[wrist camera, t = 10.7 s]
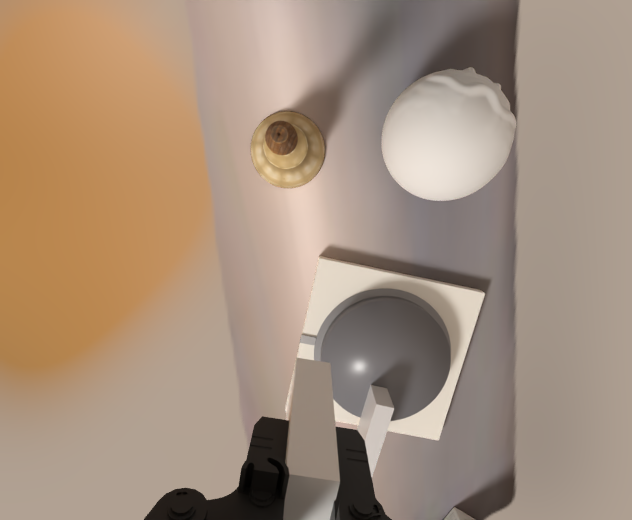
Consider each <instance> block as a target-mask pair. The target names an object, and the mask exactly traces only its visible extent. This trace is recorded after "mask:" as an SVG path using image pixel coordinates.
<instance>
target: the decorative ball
mask: <svg viewBox="0 0 632 520" xmlns="http://www.w3.org/2000/svg"><path fill="white" fill-rule="evenodd" d="M515 129H516V119H515V116H514V115H513V113H512V112H511V111H510V103H509V101H508V99H507V98H506V96H505V95H504V94H503V92H502V91H501V85H500V84H499V83H493V82H492V81H491V80H490V79H489V78H487V77H485V76H482V75H479V74H476V72H475V70H474V68H472V67H469V68H467V69H465V70H455V69H447V70H443V71H438V72H434V73H431V74H429V75H427V76H424V77H422V78H420V79H418V80H417V81H416V82H414V83H413V84H411V85H410V86H409V87H408V88H406V89H405V90H404V91H403V92H402V93H401V94H400V95H399V97H398V98H397V99H396V100H395V102H394V103H393V105H392V106H391V108H390V110H389V112H388V114H387V117H386V119H385V122H384V126H383V131H382V153H383V157H384V161H385V164H386V166H387V168H388V170H389V172H390V174H391V175H392V177H393V178H394V179H395V180H396V182H397V183H398V184H399V185H400V186H401V187H403V188H404V189H405V190H407V191H408V192H410V193H412V194H414V195H416V196H418V197H421V198H424V199H428V200H435V201H447V200H454V199H458V198H462V197H465V196H467V195H470V194H472V193H474V192H475V191H477V190H479V189H480V188H482V187H483V186H484V185H486V184H487V183H488V182H489V181H490V180H491V179H492V178H493V177H494V176H495V175H496V174H497V173H498V172H499V171H500V169H501V168H502V167H503V165H504V164H505V162H506V160H507V158H508V156H509V153H510V150H511V146H512V143H513V140H514V132H515Z"/></svg>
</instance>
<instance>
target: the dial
mask: <svg viewBox="0 0 632 520" xmlns="http://www.w3.org/2000/svg"><path fill="white" fill-rule="evenodd" d="M320 358H321V362H327V363H330V366H331V378H332V390H333V399H334V400H335V401H336V402H337V403H338V404H339V405H340V406H341V407H342V408H343V409H345V410H346V411H347V412H349V413H351V414H353V415H355V416H357V417H360V421H359V424H358V428H357V430H358V432H359V433H360V435H361V436H362V438H363V439H364V440H365V445H366V450H367V456H368V463H369V467H370V472H371V477H372V476H373V473H374V470H375V467H376V464H377V460H378V457H379V454H380V451H381V448H382V445H383V442H384V439H385V436H386V433H387V430H388V426H389V423H390V421H395V420H400V419H404V418H407V417H410V416H412V415H414V414H416V413H418V412H419V411H421V410H423V409H424V408H425V407H427V406H428V405H429V404H430V403H431V402H432V401H433V400H434V399H435V398H436V397H437V396H438V394H439V393H440V392H441V390H442V388H443V387H444V385H445V383H446V380H447V378H448V375H449V371H450V365H451V353H450V346H449V343H448V340H447V337H446V335H445V333H444V331H443V330H442V328H441V327H440V325H439V324H438V323H437V322H436V321H435V319H434V318H433V317H432V316H431V315H430V314H429V313H428V312H427V311H426V310H425V309H423V308H422V307H421V306H419V305H417V304H416V303H414V302H412V301H409V300H407V299H403V298H400V297H394V296H376V297H371V298H367V299H364V300H361V301H358V302H356V303H354V304H352V305H351V306H349V307H348V308H346V309H345V310H343V311H342V312H341V313H340V314H339V315H338V316H337V317H336V318H335V319H334V320H333V322H332V323H331V325H330V326H329V327H328V329H327V331H326V333H325V336H324V339H323V342H322V346H321V356H320Z"/></svg>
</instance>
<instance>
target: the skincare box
mask: <svg viewBox="0 0 632 520" xmlns="http://www.w3.org/2000/svg"><path fill="white" fill-rule="evenodd" d="M444 520H475V519H474V518H472V517H470V516H469V515H467V514H466V513H464V512H462V511H461V510H459V509H457V508H456V507H454V508H453V509H452V510H451V511H450V512H449V514H448V515H447V516H446V517H445V518H444Z"/></svg>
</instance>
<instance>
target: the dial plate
mask: <svg viewBox="0 0 632 520" xmlns="http://www.w3.org/2000/svg"><path fill="white" fill-rule="evenodd" d="M376 296H394V297H400V298H403V299H407V300H409V301H412V302H414V303H416V304H417V305H419V306H421V307H422V308H423V309H425V310H426V311H427V312H428V313H429V314H430V315H431V316H432V317H433V318H434V319H435V321H436V322H437V323H438V324H439V325H440V327H441V328H442V330H443V331H444V333H445V335H446V337H447V340H448V343H449V346H450V353H451V365H450V371H449V375H448V378H447V380H446V383H445V385H444V387H443V388H442V390H441V392H440V393H439V394H438V396H437V397H436V398H435V399H434V400H433V401H432V402H431V403H430V404H429V405H428V406H427V407H425V408H424V409H423V410H421V411H419V412H418V413H416V414H414V415H412V416H410V417H407V418H404V419H400V420H395V421H390V423H389V426H388V430H387V431H391V432H396V433H401V434H407V435H412V436H417V437H423V438H428V439H433V440H439V437H440V434H441V431H442V428H443V425H444V422H445V418H446V415H447V412H448V409H449V406H450V403H451V400H452V396H453V393H454V390H455V387H456V384H457V381H458V377H459V374H460V371H461V368H462V365H463V362H464V359H465V355H466V352H467V349H468V346H469V343H470V340H471V337H472V333H473V330H474V327H475V324H476V321H477V318H478V314H479V311H480V308H481V305H482V302H483V299H484V296H485V293H484V292H482V291H481V290H479V289H474V288H469V287H464V286H460V285H455V284H450V283H446V282H441V281H436V280H431V279H427V278H422V277H417V276H412V275H408V274H403V273H398V272H394V271H389V270H384V269H379V268H375V267H370V266H365V265H360V264H356V263H351V262H346V261H342V260H337V259H332V258H327V257H323V256H319V258H318V263H317V267H316V272H315V276H314V281H313V285H312V290H311V294H310V299H309V303H308V308H307V312H306V317H305V321H304V325H303V330H302V334H301V339H300V343H299V348H298V352H297V357H296V358H303V359H309V360H315V361H321V358H320V356H321V346H322V342H323V339H324V336H325V333H326V331H327V329H328V327H329V326H330V325H331V323H332V322H333V320H334V319H335V318H336V317H337V316H338V315H339V314H340V313H341V312H342V311H343V310H345V309H346V308H348V307H349V306H351V305H352V304H354V303H356V302H358V301H361V300H364V299H367V298H371V297H376ZM295 364H296V361H295ZM294 369H295V366H294ZM293 375H294V370H293ZM293 375H292V379H291V383H290V388H289V392H288V397H287V401H286V407H285V412H287V407H288V402H289V397H290V391H291V386H292V380H293ZM333 402H334V414H335V421H337V422H342V423H348V424H353V425H358V424H359V421H360V417H357V416H355V415H353V414H351V413H349V412H347V411H346V410H345V409H343V408H342V407H341V406H340V405H339V404H338V403H337V402H336V401H335V400H334V399H333Z"/></svg>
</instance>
